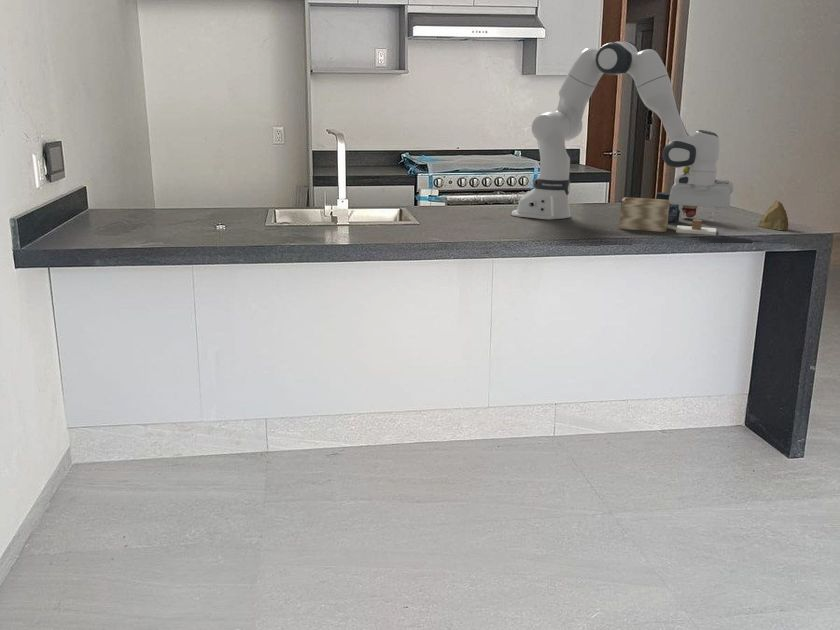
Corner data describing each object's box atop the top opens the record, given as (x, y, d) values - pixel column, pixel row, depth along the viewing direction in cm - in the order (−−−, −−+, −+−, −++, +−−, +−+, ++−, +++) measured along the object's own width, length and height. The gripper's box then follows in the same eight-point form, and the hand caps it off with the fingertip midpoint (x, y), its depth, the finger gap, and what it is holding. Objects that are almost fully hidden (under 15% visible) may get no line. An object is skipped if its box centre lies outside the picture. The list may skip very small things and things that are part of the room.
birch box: (618, 228, 281) (621, 200, 279) (621, 224, 290) (624, 197, 288) (665, 231, 276) (668, 203, 274) (667, 227, 285) (670, 200, 283)
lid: (675, 233, 276) (677, 220, 275) (676, 229, 284) (678, 217, 282) (715, 236, 272) (717, 223, 271) (715, 232, 280) (717, 219, 278)
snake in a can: (670, 215, 311) (677, 150, 304) (696, 216, 310) (704, 151, 303) (675, 220, 300) (682, 153, 293) (703, 221, 299) (711, 154, 292)
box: (665, 223, 295) (668, 194, 292) (653, 220, 299) (656, 192, 296) (679, 221, 299) (682, 193, 296) (667, 219, 303) (670, 191, 300)
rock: (797, 225, 280) (790, 217, 289) (786, 206, 278) (778, 198, 287) (768, 242, 284) (762, 233, 293) (756, 223, 282) (750, 215, 291)
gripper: (733, 179, 272) (728, 219, 276) (671, 176, 279) (667, 215, 283) (734, 181, 267) (728, 222, 271) (670, 178, 273) (666, 218, 277)
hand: (697, 219), depth 277 cm, fingers open, 8 cm apart
